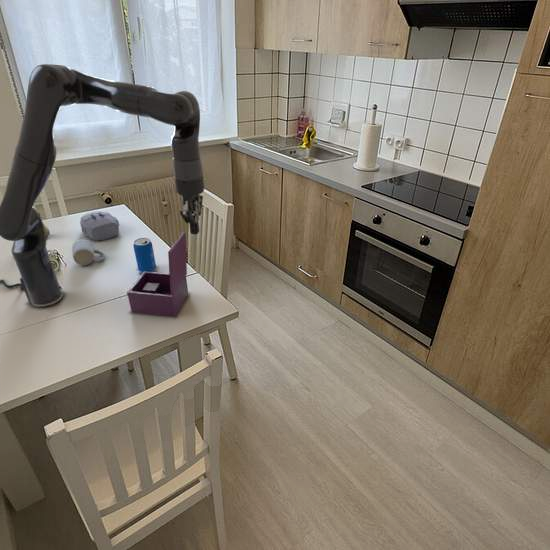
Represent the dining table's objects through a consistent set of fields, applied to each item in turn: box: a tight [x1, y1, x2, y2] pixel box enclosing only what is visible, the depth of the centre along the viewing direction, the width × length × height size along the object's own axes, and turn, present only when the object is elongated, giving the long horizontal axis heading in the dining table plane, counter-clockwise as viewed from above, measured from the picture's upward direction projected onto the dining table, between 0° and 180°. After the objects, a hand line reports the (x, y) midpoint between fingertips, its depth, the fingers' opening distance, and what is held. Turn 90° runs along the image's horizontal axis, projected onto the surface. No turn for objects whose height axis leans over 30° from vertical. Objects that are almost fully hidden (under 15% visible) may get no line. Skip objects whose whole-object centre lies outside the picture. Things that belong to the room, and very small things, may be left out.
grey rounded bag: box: [79, 210, 120, 241], centre depth 171 cm, size 15×8×20 cm
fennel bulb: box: [36, 209, 50, 238], centre depth 165 cm, size 6×5×12 cm
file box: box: [126, 271, 189, 318], centre depth 127 cm, size 15×13×8 cm
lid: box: [167, 231, 188, 296], centre depth 120 cm, size 15×13×1 cm
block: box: [142, 283, 162, 294], centre depth 128 cm, size 4×4×5 cm
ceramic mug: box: [71, 239, 105, 266], centre depth 150 cm, size 11×8×8 cm
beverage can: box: [132, 237, 157, 274], centre depth 144 cm, size 6×6×12 cm
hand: (195, 233), depth 113 cm, fingers closed
